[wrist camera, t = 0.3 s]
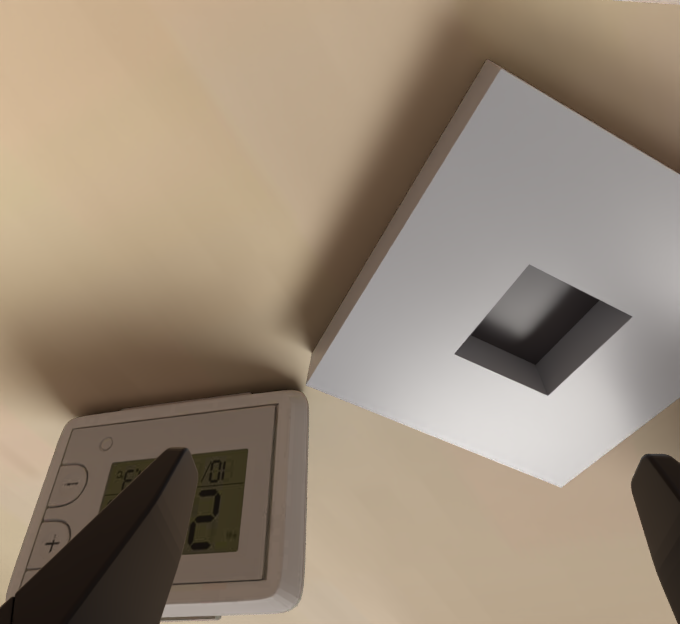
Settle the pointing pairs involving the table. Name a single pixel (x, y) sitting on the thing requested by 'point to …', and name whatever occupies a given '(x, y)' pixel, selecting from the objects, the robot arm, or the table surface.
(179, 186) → the table surface
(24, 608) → the robot arm
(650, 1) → the plug
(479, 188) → the socket plate
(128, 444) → the digital clock
